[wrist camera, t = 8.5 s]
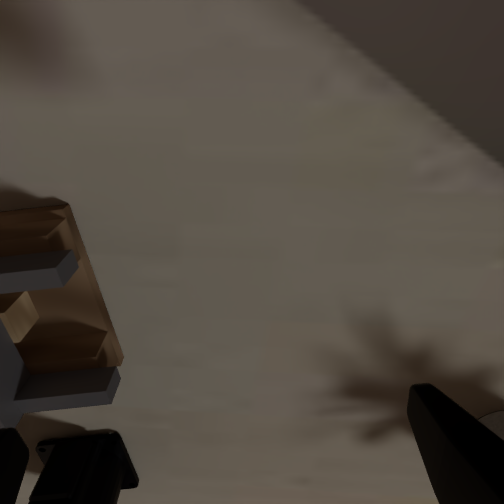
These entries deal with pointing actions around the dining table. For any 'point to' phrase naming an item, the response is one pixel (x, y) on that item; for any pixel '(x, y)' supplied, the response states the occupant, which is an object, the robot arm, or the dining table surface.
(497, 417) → the house plant
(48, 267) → the grey c-shaped bracket
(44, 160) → the dining table surface
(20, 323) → the display stand
